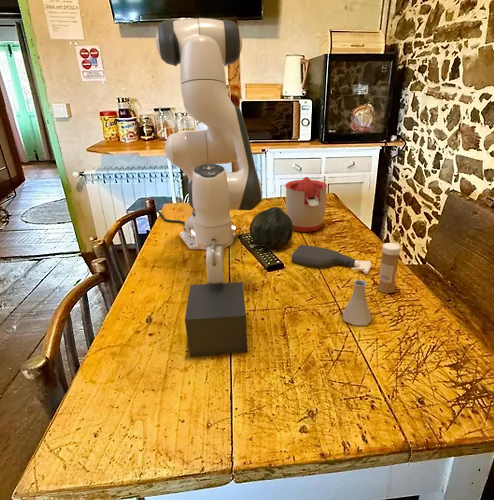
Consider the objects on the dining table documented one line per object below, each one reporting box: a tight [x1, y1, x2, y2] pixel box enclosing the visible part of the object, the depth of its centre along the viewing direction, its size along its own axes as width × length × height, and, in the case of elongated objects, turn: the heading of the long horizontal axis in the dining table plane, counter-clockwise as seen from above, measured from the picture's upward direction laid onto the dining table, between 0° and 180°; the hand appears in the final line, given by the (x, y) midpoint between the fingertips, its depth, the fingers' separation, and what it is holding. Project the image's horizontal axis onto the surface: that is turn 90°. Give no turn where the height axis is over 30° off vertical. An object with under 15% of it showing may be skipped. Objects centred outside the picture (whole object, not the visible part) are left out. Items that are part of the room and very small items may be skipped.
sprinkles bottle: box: [377, 242, 401, 294], centre depth 107 cm, size 5×5×13 cm
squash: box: [249, 206, 294, 249], centre depth 137 cm, size 14×15×15 cm
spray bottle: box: [291, 244, 372, 275], centre depth 125 cm, size 3×11×25 cm
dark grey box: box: [184, 281, 249, 358], centre depth 91 cm, size 15×13×10 cm
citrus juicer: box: [284, 176, 328, 233], centre depth 150 cm, size 16×17×20 cm
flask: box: [342, 279, 373, 326], centre depth 96 cm, size 7×7×10 cm
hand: (218, 283), depth 102 cm, fingers closed, pressing on tray
